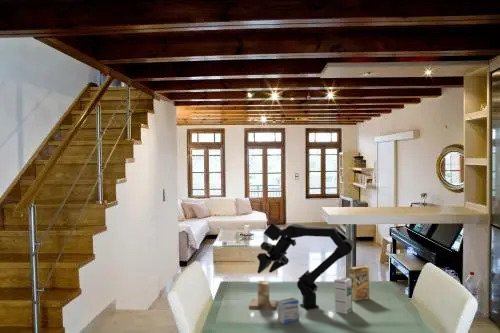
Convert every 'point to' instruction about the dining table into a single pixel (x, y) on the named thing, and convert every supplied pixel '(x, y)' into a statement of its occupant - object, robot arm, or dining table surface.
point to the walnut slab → (255, 305)
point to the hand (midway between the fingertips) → (264, 272)
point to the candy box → (359, 282)
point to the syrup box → (343, 295)
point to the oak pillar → (263, 292)
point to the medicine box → (288, 310)
